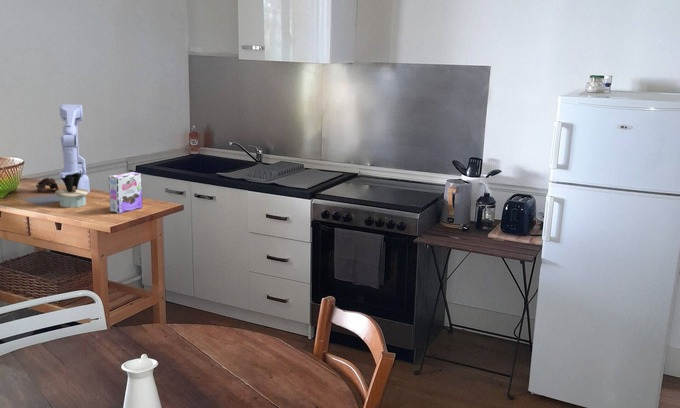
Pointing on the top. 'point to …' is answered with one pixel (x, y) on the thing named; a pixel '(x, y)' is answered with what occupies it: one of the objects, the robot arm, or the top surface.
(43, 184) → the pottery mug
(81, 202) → the bowl
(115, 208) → the candy box
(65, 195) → the lid
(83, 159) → the robot arm
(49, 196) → the mat
